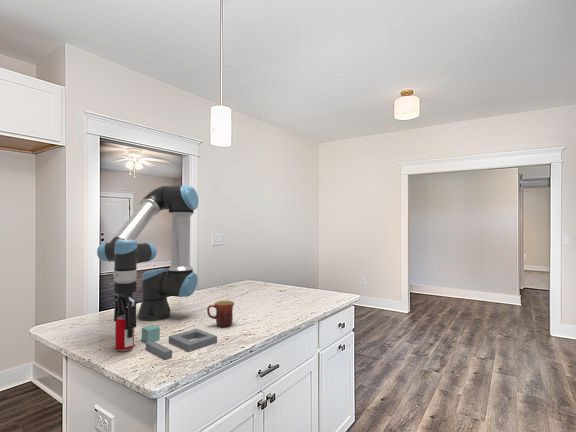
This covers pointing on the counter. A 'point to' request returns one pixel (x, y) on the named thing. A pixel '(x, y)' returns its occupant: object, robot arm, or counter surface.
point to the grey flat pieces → (183, 342)
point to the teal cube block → (150, 333)
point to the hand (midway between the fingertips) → (124, 343)
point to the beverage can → (121, 334)
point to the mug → (222, 313)
